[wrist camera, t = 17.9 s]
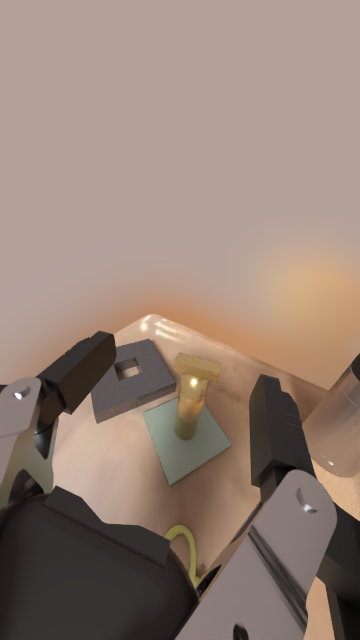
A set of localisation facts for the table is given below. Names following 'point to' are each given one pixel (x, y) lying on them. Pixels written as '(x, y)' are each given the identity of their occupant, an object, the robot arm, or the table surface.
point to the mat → (183, 441)
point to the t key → (192, 391)
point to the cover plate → (131, 381)
